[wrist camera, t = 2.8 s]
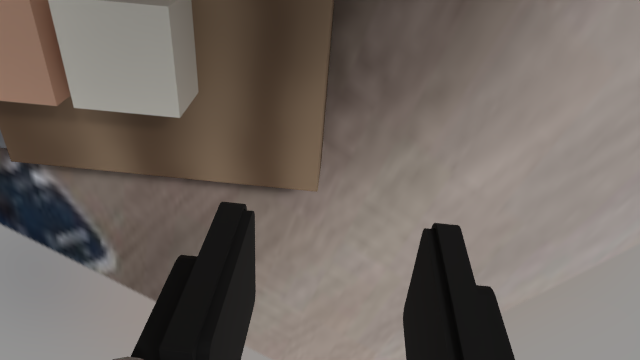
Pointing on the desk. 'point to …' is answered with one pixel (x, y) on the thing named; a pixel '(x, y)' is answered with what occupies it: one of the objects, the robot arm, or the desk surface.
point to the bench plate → (209, 106)
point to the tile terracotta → (30, 54)
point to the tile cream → (128, 54)
